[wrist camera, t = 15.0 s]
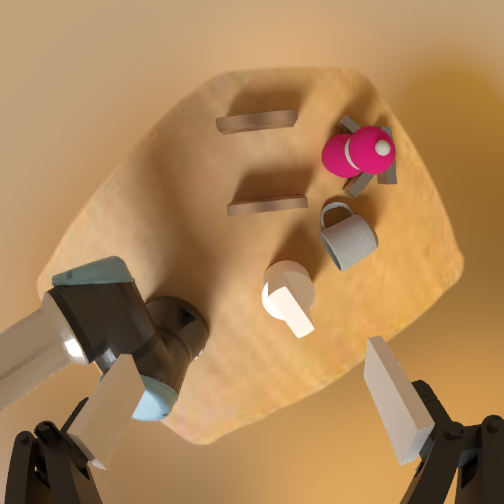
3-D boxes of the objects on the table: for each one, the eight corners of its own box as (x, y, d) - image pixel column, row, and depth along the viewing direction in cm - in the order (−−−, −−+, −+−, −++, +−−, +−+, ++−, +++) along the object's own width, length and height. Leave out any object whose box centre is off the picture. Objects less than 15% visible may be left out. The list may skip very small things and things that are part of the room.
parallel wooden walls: (232, 210, 48) (227, 216, 42) (222, 126, 44) (215, 118, 38) (301, 203, 47) (307, 207, 41) (291, 118, 44) (296, 109, 37)
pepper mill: (321, 134, 44) (358, 108, 25) (359, 142, 44) (415, 125, 25) (316, 173, 46) (351, 172, 27) (355, 180, 46) (409, 186, 27)
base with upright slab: (318, 289, 52) (332, 319, 40) (278, 313, 53) (282, 348, 42) (294, 250, 50) (302, 273, 38) (252, 277, 51) (249, 306, 40)
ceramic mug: (370, 242, 49) (386, 253, 41) (334, 264, 50) (345, 278, 43) (345, 192, 47) (359, 194, 39) (307, 215, 48) (314, 221, 41)
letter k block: (342, 196, 47) (349, 198, 43) (333, 119, 43) (339, 114, 39) (388, 193, 46) (397, 195, 42) (380, 119, 43) (389, 116, 39)
